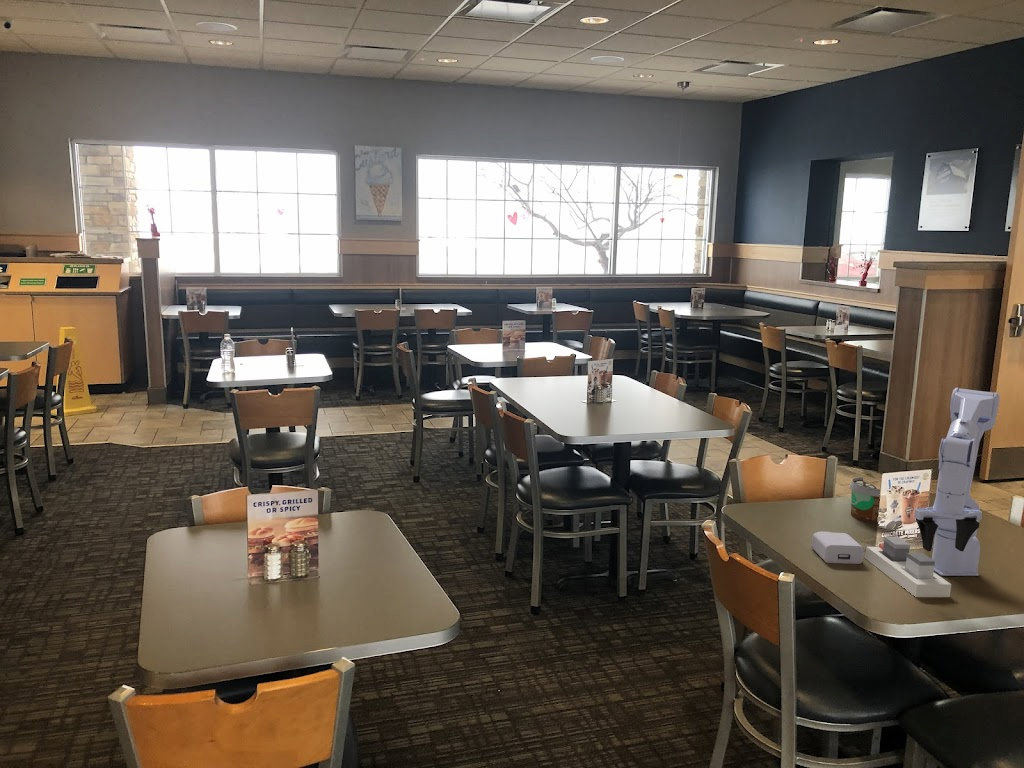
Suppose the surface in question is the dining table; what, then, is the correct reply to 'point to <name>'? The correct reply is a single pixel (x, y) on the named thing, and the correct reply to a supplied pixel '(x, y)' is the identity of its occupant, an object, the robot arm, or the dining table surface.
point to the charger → (837, 548)
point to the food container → (864, 500)
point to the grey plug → (919, 566)
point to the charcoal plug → (895, 549)
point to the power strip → (908, 576)
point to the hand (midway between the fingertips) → (943, 549)
